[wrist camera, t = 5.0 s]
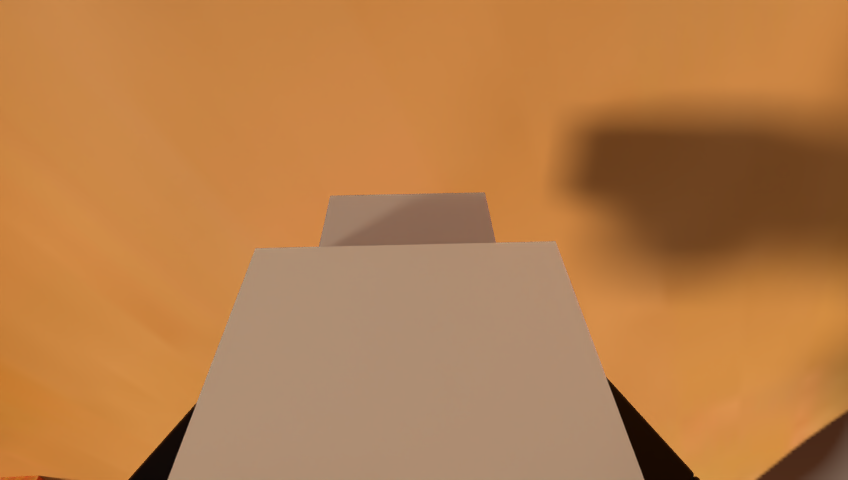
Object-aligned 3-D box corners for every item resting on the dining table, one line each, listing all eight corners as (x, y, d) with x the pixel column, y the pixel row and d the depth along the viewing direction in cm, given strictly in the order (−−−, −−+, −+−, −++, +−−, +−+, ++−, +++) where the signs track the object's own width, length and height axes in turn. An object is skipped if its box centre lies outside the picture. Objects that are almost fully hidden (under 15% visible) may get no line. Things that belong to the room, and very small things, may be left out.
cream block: (524, 159, 11) (684, 587, 4) (504, 322, 14) (581, 708, 8) (287, 164, 11) (119, 606, 4) (319, 327, 14) (248, 719, 8)
